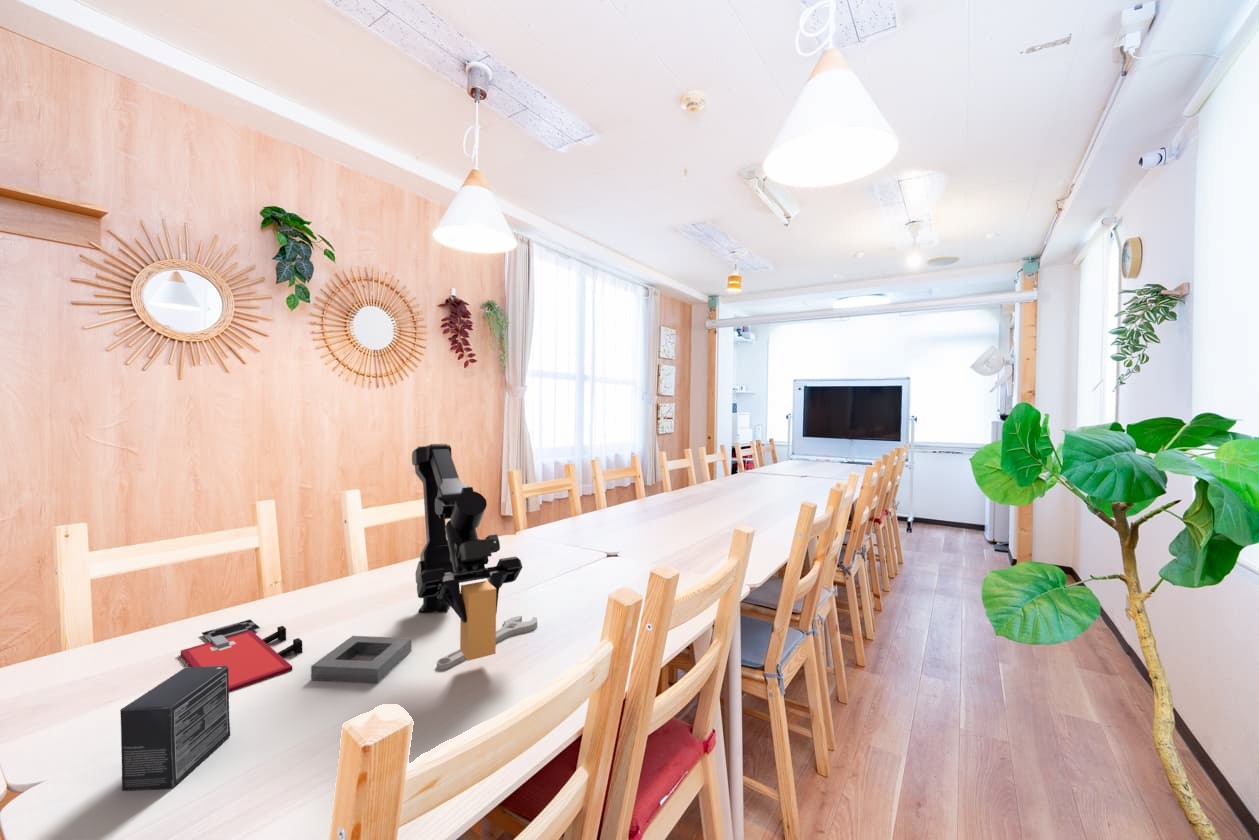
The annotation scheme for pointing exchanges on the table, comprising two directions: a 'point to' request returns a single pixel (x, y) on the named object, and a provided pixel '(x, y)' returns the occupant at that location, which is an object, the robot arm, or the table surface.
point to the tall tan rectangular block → (478, 620)
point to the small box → (174, 728)
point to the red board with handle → (242, 653)
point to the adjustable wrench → (508, 629)
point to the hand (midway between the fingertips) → (480, 618)
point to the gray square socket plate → (347, 670)
